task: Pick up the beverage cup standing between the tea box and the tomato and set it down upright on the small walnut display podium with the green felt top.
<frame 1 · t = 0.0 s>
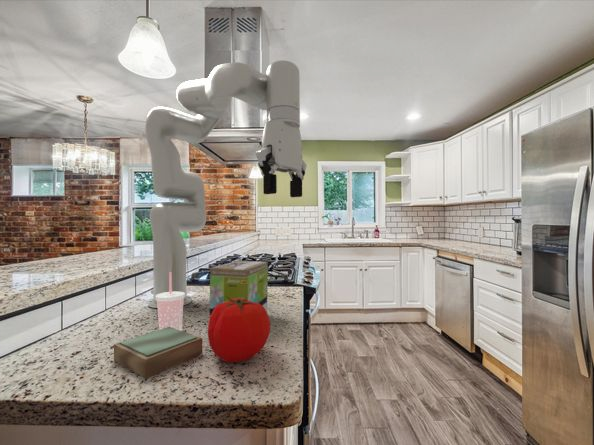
hand: (283, 195, 68), 31 cm above the countertop, tool pointing down, fingers open, 9 cm apart
beverage cup: (170, 334, 68), on the countertop
tea box: (240, 322, 76), on the countertop
podium: (159, 357, 56), on the countertop
tomato: (239, 358, 55), on the countertop
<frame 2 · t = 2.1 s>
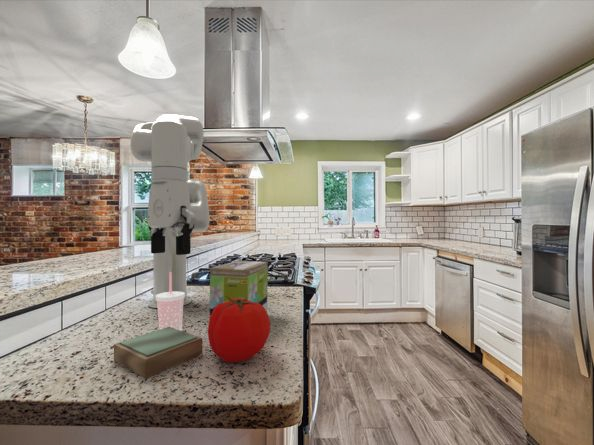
hand: (170, 253, 67), 18 cm above the countertop, tool pointing down, fingers open, 9 cm apart
nothing on the countertop moved.
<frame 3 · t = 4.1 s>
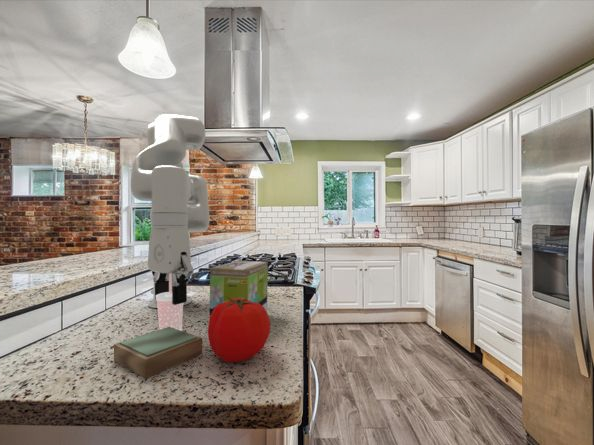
hand: (170, 300, 68), 8 cm above the countertop, tool pointing down, fingers closed on beverage cup, 6 cm apart
beverage cup: (170, 334, 68), on the countertop, touching gripper
everything else where it was.
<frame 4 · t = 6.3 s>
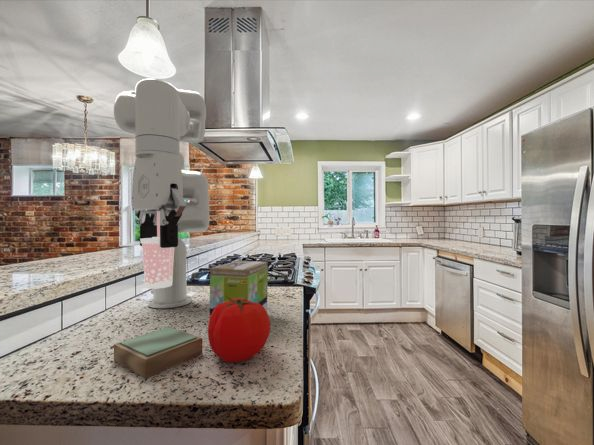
hand: (158, 245, 56), 21 cm above the countertop, tool pointing down, fingers closed on beverage cup, 6 cm apart
beverage cup: (158, 287, 56), point 13 cm above the countertop, touching gripper
everything else where it was.
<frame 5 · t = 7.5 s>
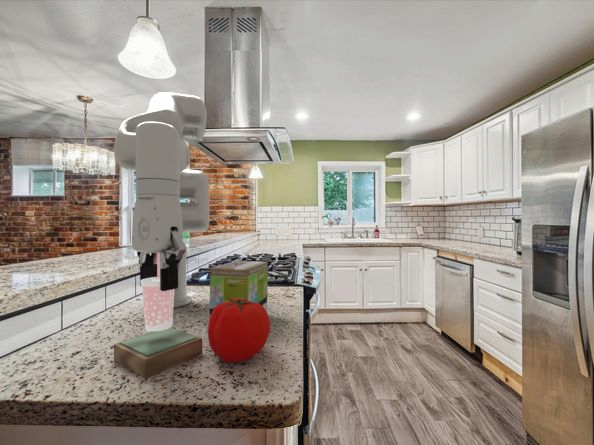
hand: (158, 286, 56), 13 cm above the countertop, tool pointing down, fingers closed on beverage cup, 6 cm apart
beverage cup: (159, 328, 56), point 5 cm above the countertop, touching gripper
everything else where it was.
when the fingers open (12 cm above the countertop, at t = 8.7 s): beverage cup stays where it is, resting on podium.
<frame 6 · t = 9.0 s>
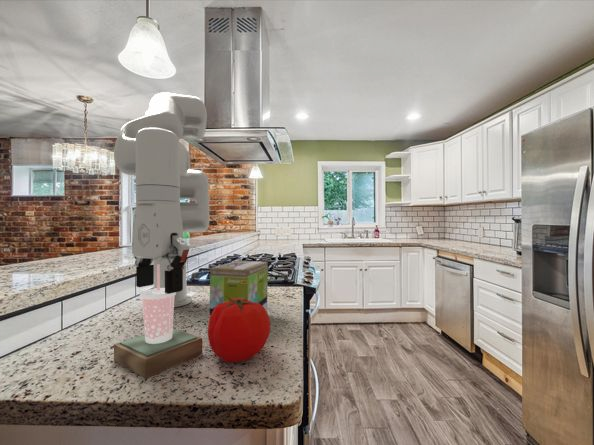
hand: (158, 288, 56), 13 cm above the countertop, tool pointing down, fingers open, 9 cm apart
beverage cup: (159, 339, 56), point 3 cm above the countertop, touching podium
everything else where it was.
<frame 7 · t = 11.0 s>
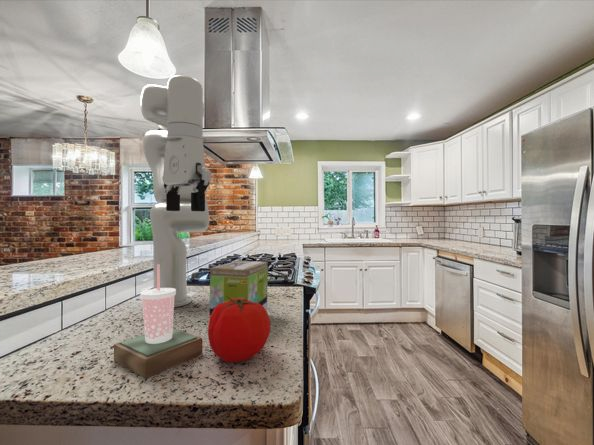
hand: (185, 211, 68), 28 cm above the countertop, tool pointing down, fingers open, 9 cm apart
nothing on the countertop moved.
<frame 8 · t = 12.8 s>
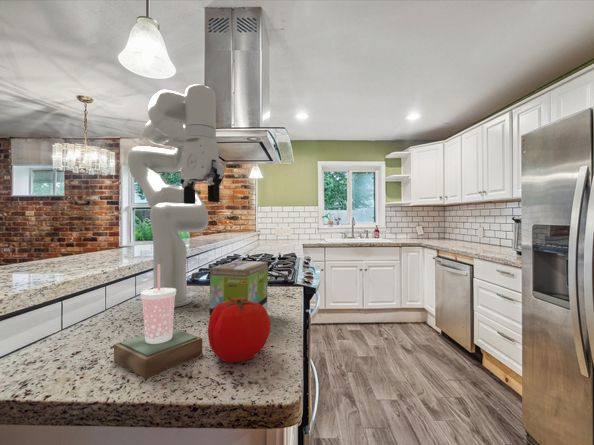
hand: (201, 202, 77), 30 cm above the countertop, tool pointing down, fingers open, 9 cm apart
nothing on the countertop moved.
at the end: beverage cup inside the target area on the podium (0.3 cm from its centre), point 3.1 cm above the podium's base; beverage cup tilted 0°; the gripper is holding nothing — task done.
